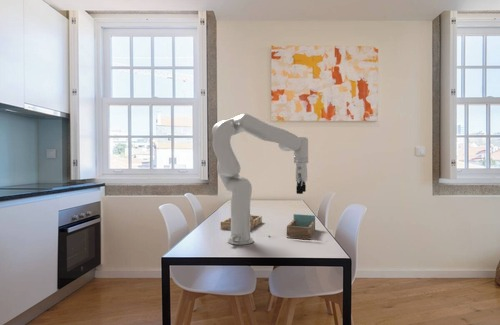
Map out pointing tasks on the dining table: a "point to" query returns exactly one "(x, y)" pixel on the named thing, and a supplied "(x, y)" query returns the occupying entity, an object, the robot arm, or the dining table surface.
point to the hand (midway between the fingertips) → (301, 192)
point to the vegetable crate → (256, 220)
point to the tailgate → (303, 220)
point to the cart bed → (300, 230)
